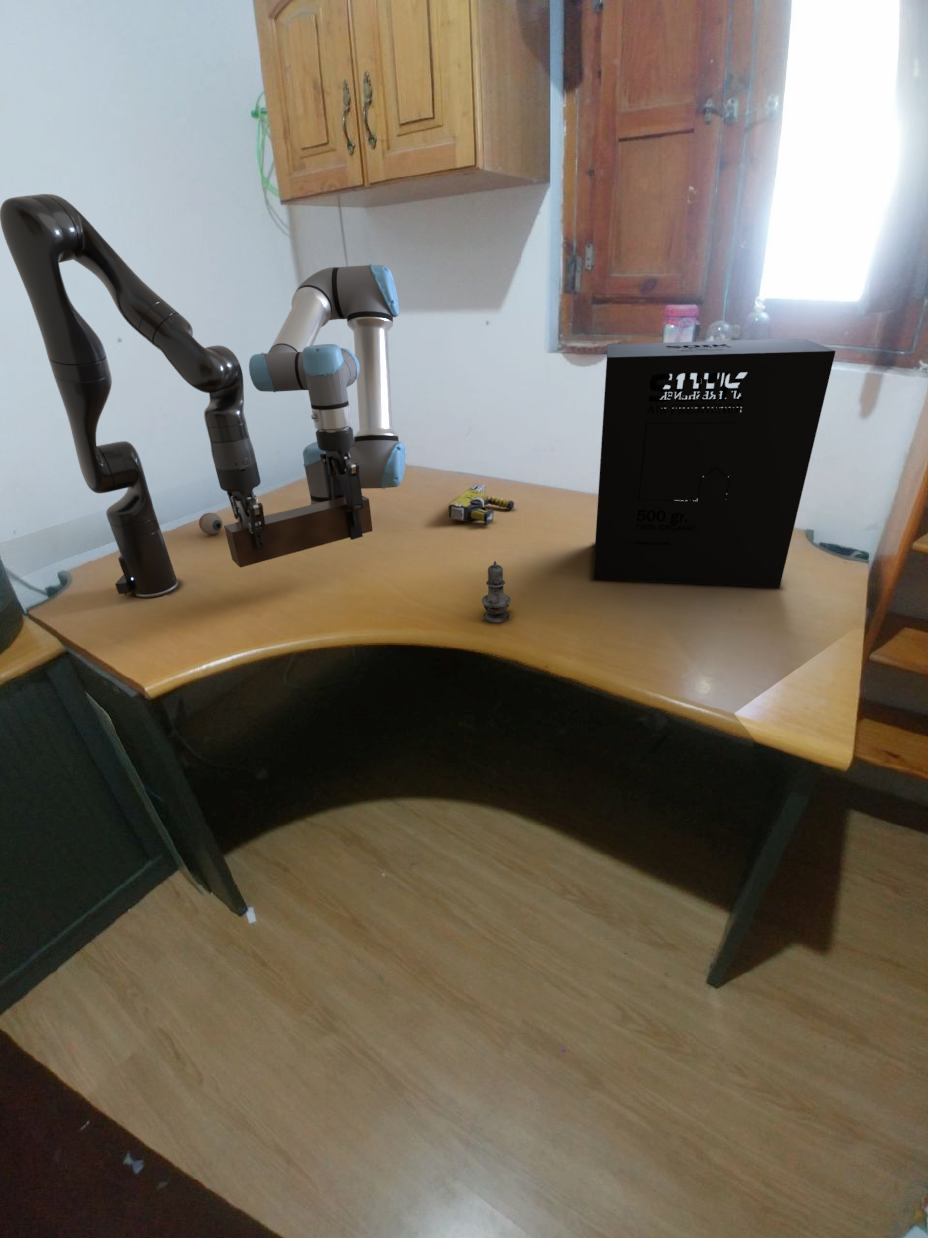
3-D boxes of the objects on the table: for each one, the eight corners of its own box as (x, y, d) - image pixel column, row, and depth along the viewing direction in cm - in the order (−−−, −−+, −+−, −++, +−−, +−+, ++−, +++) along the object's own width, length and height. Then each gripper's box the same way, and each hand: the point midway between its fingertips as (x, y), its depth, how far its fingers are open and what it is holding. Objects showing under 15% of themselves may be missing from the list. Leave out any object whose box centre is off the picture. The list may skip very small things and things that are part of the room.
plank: (240, 567, 120) (231, 532, 116) (232, 559, 123) (223, 525, 120) (372, 531, 135) (369, 498, 131) (362, 525, 139) (358, 493, 135)
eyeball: (212, 539, 164) (206, 518, 161) (197, 535, 167) (191, 515, 164) (230, 531, 169) (224, 511, 166) (215, 528, 172) (210, 508, 169)
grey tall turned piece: (509, 624, 117) (508, 568, 111) (479, 622, 118) (477, 567, 112) (513, 609, 122) (512, 555, 116) (484, 607, 123) (482, 554, 117)
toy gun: (522, 488, 179) (474, 481, 183) (499, 513, 159) (446, 504, 163) (520, 503, 181) (473, 496, 185) (498, 529, 161) (446, 520, 165)
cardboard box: (759, 548, 141) (803, 338, 119) (779, 587, 124) (835, 350, 102) (595, 543, 149) (607, 344, 126) (593, 579, 132) (607, 357, 109)
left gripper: (204, 458, 117) (225, 539, 126) (227, 474, 107) (249, 561, 116) (242, 451, 121) (260, 530, 129) (268, 465, 111) (286, 550, 119)
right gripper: (298, 424, 127) (318, 527, 139) (336, 439, 115) (354, 551, 127) (331, 418, 131) (347, 519, 143) (371, 431, 118) (385, 541, 130)
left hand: (255, 544), depth 123 cm, fingers closed on plank, 5 cm apart
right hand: (350, 533), depth 135 cm, fingers closed on plank, 5 cm apart
